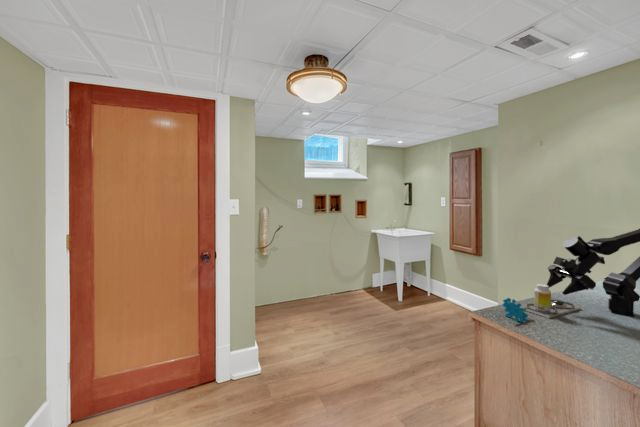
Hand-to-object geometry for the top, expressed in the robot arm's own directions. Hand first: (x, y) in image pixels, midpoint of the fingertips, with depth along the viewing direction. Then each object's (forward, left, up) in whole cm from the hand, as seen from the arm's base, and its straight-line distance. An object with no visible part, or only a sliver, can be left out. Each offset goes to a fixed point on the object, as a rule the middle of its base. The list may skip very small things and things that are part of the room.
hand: (554, 290), depth 118 cm
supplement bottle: (+4, +3, -8) cm, 10 cm away
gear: (+12, +18, -9) cm, 24 cm away
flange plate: (+1, -2, -9) cm, 10 cm away
